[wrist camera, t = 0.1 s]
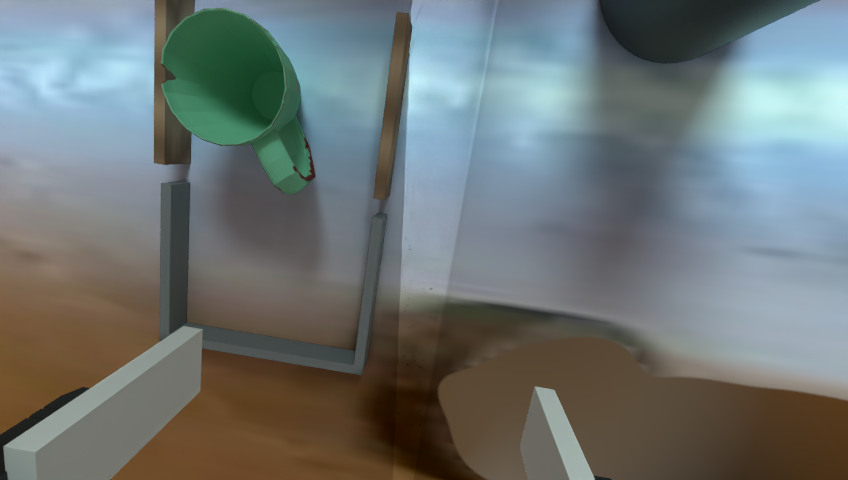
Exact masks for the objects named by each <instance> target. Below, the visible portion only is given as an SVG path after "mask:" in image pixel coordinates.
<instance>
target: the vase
mask: <svg viewBox="0 0 848 480" xmlns="http://www.w3.org/2000/svg"><path fill="white" fill-rule="evenodd" d="M817 1H820V0H600V2H601V8H602V12H603V16H604V19H605V21H606V24H607V26H608V28H609V30H610V31H611V33H612V34H613V36H614V37H615V38H616V40H617V41H618V42H619V43H620V44H621V45H622V46H623V47H624V48H625V49H627V50H628V51H629V52H631V53H633V54H634V55H636V56H638V57H640V58H643V59H645V60H648V61H653V62H658V63H677V62H683V61H687V60H691V59H694V58H696V57H699V56H701V55H704V54H706V53H709V52H711V51H713V50H715V49H717V48H719V47H721V46H723V45H726V44H728V43H730V42H732V41H734V40H737V39H739V38H741V37H743V36H745V35H747V34H750V33H752V32H753V31H755V30H758V29H760V28H762V27H764V26H766V25H768V24H770V23H773V22H775V21H777V20H779V19H781V18H783V17H786V16H788V15H790V14H792V13H794V12H796V11H798V10H800V9H803V8H805V7H807V6H809V5H811V4H813V3H815V2H817Z"/></svg>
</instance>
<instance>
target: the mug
mask: <svg viewBox="0 0 848 480" xmlns="http://www.w3.org/2000/svg"><path fill="white" fill-rule="evenodd" d="M161 65H162V66H163V67H164V68H165V69H166V70H167V71H169V72H171V74H172V75H173V76H174V78H175V79H172V80H166V81H164V82H162V83H161V85H162V92H163V94H164V96H165V99H166V101H167V103H168V105H169V107H170V110H171V112H172V113H173V114H174V115H175V117H176V118H177V119H178V120H179V121H180V123H181V124H182V125H183V126H184V127H185V128H186V129H187V130H189V131H190V132H192V133H193V134H194V135H196V136H197V137H199V138H200V139H202V140H205V141H208V142H211V143H214V144H218V145H221V146H232V145H247V144H250V143H251V144H252V146H253V148H254V150H255V152H256V154H257V156H258V158H259V160H260V162H261V164H262V166H263V168H264V170H265V172H266V173H267V175H268V177H269V178H270V180H271V182H272V183H273V185H274V186H275V187H277V188H278V189H279V190H281V191H282V192H283V193H286V194H295V193H297V192H299V191H300V190H301V189H302V188H304V187H305V186H306V185H307V184H309V183H310V182H311V181H312V180H313V179H314V178H315V171H314V165H313V160H312V155H311V150H310V147H309V145H308V142H307V140H306V137H305V135H304V133H303V130H302V128H301V126H300V123H299V121H298V118H297V116H296V113H297V111H298V109H299V105H300V101H301V91H300V84H299V81H298V78H297V76H296V73H295V71H294V68H293V66H292V64H291V62H290V60H289V58H288V57H287V55H286V54H285V53H284V52H283V50H282V48H281V47H280V46H279V45H278V43H277V42H276V41H275V39H274V38H273V37H272V35H271V34H270V33H269V32H268V31H267V30H266V29H265V28H263V27H262V26H261V25H259V24H258V23H256V22H255V21H254V20H252V19H251V18H249V17H248V16H247V15H245V14H242V13H239V12H236V11H232V10H229V9H226V8H213V9H203V10H200V11H198V12H196V13H193V14H191V15H189V16H186V17H185V18H184V19H183V20H182V21H181V22H180V23H179V24H178V25H177V26H176V27H175V28H174V29H173V30H172V31H171V32H170V34H169V37H168V39H167V41H166V43H165V45H164V47H163V49H162V56H161ZM277 132H278V133H279V135H278V133H277ZM279 136H280V137H279ZM280 138H281V139H280Z"/></svg>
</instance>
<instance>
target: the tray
mask: <svg viewBox="0 0 848 480" xmlns="http://www.w3.org/2000/svg"><path fill="white" fill-rule="evenodd" d="M189 201H190V182H183V181H177V182H168V183H161V248H160V341H162V340H163V339H165V338H166V337H168V336H169V335H171V334H172V333H174V332H175V331H177V330H178V329H180V328H181V327H183V326H187V327H192V328H198V329H203V334H202V348H203V349H209V350H215V351H221V352H227V353H232V354H238V355H244V356H250V357H256V358H262V359H268V360H274V361H280V362H286V363H292V364H298V365H304V366H310V367H316V368H321V369H327V370H333V371H339V372H345V373H351V374H357V375H362V374H363V371H364V369H365V366H366V363H367V360H368V352H369V345H370V337H371V330H372V323H373V315H374V308H375V300H376V293H377V285H378V278H379V271H380V263H381V256H382V248H383V241H384V234H385V226H386V219H387V214H382V213H377V214H376V215H375V216H374V217H373V218H372V226H371V233H370V241H369V249H368V257H367V265H366V273H365V281H364V289H363V296H362V304H361V312H360V320H359V328H358V336H357V344H356V351H353V350H347V349H341V348H335V347H329V346H323V345H317V344H311V343H305V342H299V341H293V340H287V339H282V338H276V337H270V336H264V335H258V334H252V333H246V332H240V331H234V330H228V329H222V328H216V327H210V326H204V325H198V324H192V323H187V282H188V242H189Z"/></svg>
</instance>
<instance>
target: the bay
mask: <svg viewBox="0 0 848 480" xmlns="http://www.w3.org/2000/svg"><path fill="white" fill-rule="evenodd" d="M193 13H194V0H155V62H154V163H157V164H163V165H169V164H189V163H190V161H191V132H190V131H189V130H187V129H186V128H185V127H184V126H183V125H182V124H181V123H180V121H179V120H178V119H177V118H176V117H175V115H174V114H173V113H172V112H171V110H170V107H169V105H168V103H167V101H166V99H165V96H164V94H163V92H162V85H161V83H162V82H164V81H166V80H172V79H175V78H174V76H173V75H172V74H171V72H169V71H167V70H166V69H165V68H164V67H163V66H162V65H161V56H162V49H163V47H164V45H165V43H166V41H167V39H168V37H169V34H170V32H171V31H172V30H173V29H174V28H175V27H176V26H177V25H178V24H179V23H180V22H181V21H182V20H183V19H184V18H185V17H186V16H189V15H191V14H193ZM411 33H412V25H411V21H410V17H409V14H408V13H401V12H397V14H396V22H395V30H394V38H393V46H392V54H391V62H390V70H389V78H388V86H387V94H386V101H385V109H384V117H383V125H382V133H381V141H380V149H379V157H378V165H377V173H376V181H375V189H374V197H373V198H375V199H381V200H384V199H386V198H387V197H388V196H389V195H390V189H391V182H392V174H393V167H394V159H395V152H396V145H397V137H398V130H399V122H400V115H401V108H402V100H403V93H404V85H405V78H406V70H407V63H408V56H409V48H410V41H411Z"/></svg>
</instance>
